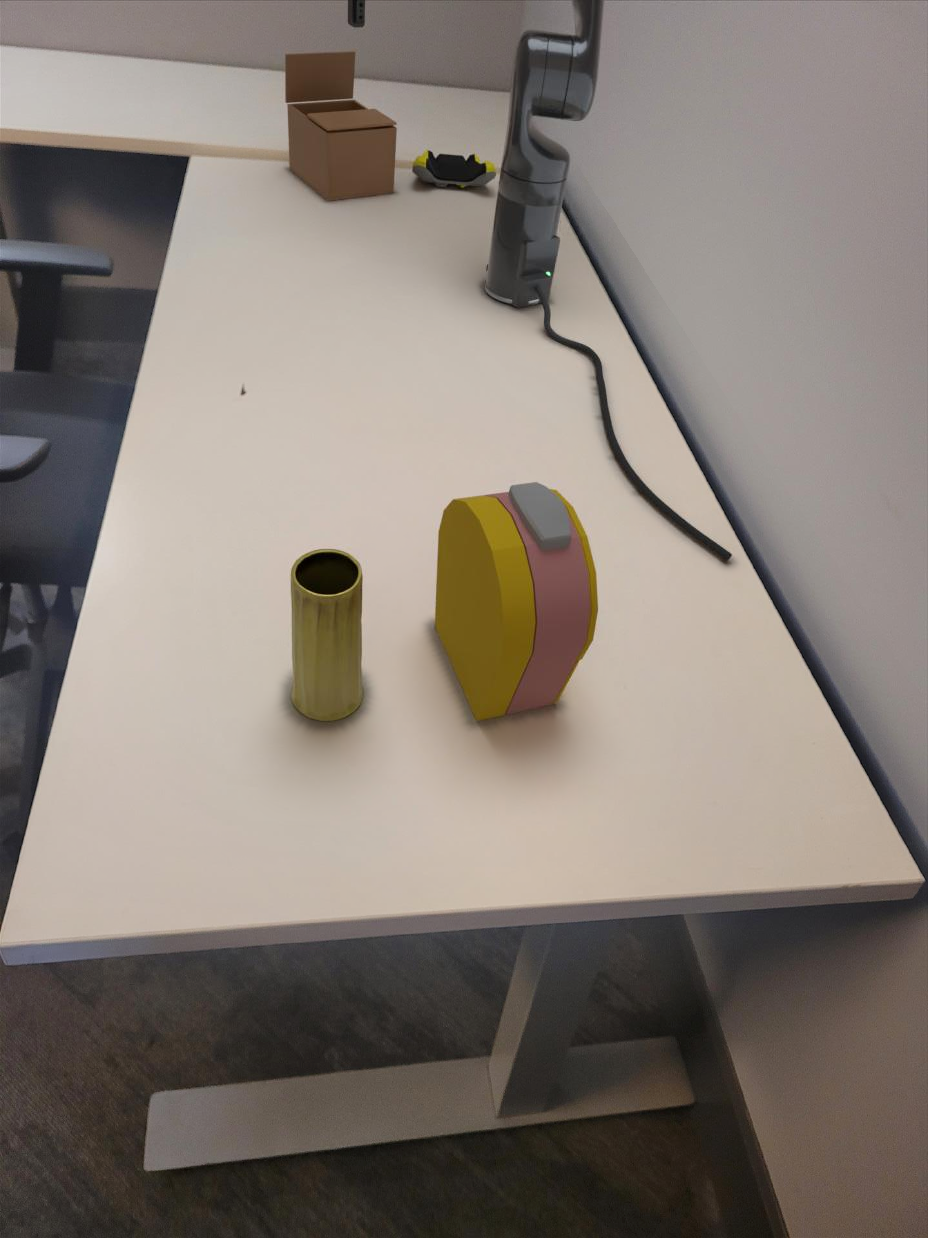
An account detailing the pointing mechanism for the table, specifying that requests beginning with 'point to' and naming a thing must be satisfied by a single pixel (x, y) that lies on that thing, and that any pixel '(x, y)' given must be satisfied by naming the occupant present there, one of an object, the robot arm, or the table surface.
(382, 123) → the box flap
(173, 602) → the table surface
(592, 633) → the tape measure
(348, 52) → the cardboard box
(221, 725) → the table surface
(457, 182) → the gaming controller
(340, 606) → the vase
